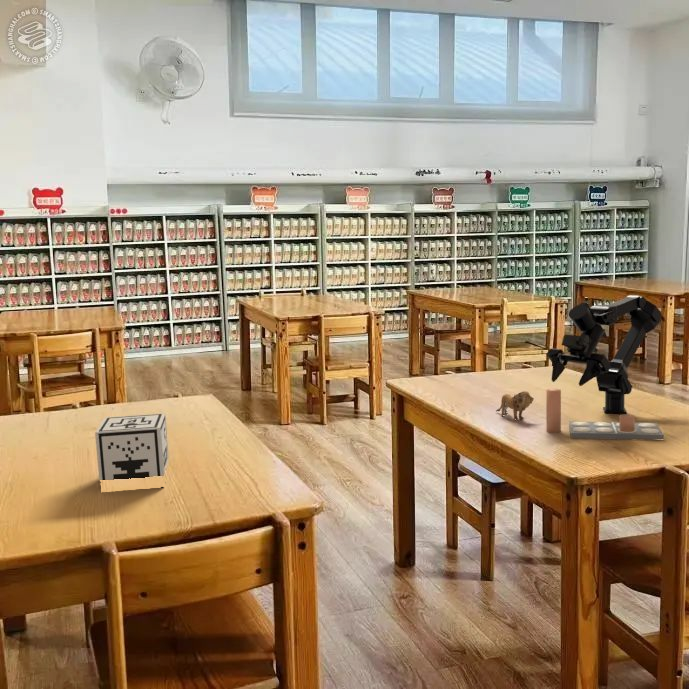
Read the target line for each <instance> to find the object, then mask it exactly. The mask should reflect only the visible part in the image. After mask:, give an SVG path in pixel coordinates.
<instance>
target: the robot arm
mask: <svg viewBox="0 0 689 689" xmlns="http://www.w3.org/2000/svg"><path fill="white" fill-rule="evenodd" d="M626 314H627V315H629V320H630V325H631V326H630V328H629V329H628V332H627V333H626V336H624V339H623V340H622V342H621V344H620V346H619V347H618V349H617V351H616V353H615V355H614V356H613V358H612V360H609V359H608V358H607V356H606V354H605V353H597V352H598V348H597V346H598V344H599V343H600V341H601V339H606V338H607V333H606V329H604V327H603V326H608V327H610V326H612V325H613V324H615V323H616V322H617V321H618V318H619V317H622V316H623V315H626ZM662 316H663V315H662V312H661V311H660V309H659V308H658V306H657V305H656V304H654V303H652V302H650V301H648V300H647V299H646V297H644V296H642V295H636V294H635V295H634V294H629V295H627V296H626V297H624V298H621V299H619V300H617V301H613V302H612V303H608V304H596V305H592V306H591V307H590V305H589V303H588V302H587V301H586V302H585V301H581V302H580V303H579V304H577V305H576V306H573V307H572V308H571V309H570V310H569V311H568V317H569V319H570V320H571V322H572V323H573V325H574V326H575V328H576V329H577V330H578V331H579V332H580V334H579V335H575V334H564V335H563V338H562V342H561V345H562V346H564V347H566V348H567V349H566V351H567V352H568V353H570V354H566V353H565V352H564V351H563V349H561V348H560V349H559V348H553V347H552V348H549V349H548V351H547V352H546V357H548V359H549V360H550V362H551V363H552V372H551V381H552V382H553V383H554V382H556V381H557V380H558V378H559V377H560V376H561V375H562V373H563V372H564V371H565V369H566V366H567V364H568V362H569V363H570V362H571V363H577V364H583V365H586V366H585V369H584V371H583V373H582V375H581V377H580V379H579V381H578V386H579V387H582V386H584V385H585V384H586V383H588V382H590V381H591V380H592V379H595V378H596V384H597V388H598V391H599V392H604V393H605V395H604V406H603V407H602V409H603V412H604V413H605V414H628V413H627V412H628V411H627V410H626V408H625V396H626V395H630V393H631V394H632V389H633V384H631V382H630V380H629V379H628V378H629V372H628V367H629V365H630V364H631V361H632V359H634V357H635V354H636V352H637V351H638V350H639V347H640V345H641V343H642V342H643V340H644V338H645V336H646V335H647V334H648V333H649V332H651V331H653V330H655V328H656V327H658V325H659V323H660V322H661V320H662Z"/></svg>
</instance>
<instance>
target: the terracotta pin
mask: <svg viewBox="0 0 689 689" xmlns="http://www.w3.org/2000/svg"><path fill="white" fill-rule="evenodd" d="M545 391H546V392H545V393H546V396H545V397H546V398H545V399H546V402H545V403H546V412H545V414H546V415H545V416H546V419H545V420H546V428H545V429H546V432H548V433H552V434H553V433H555V434H556V433H561V432H562V390H561V389H560V388H554V387H553V388H547V389H546V390H545Z"/></svg>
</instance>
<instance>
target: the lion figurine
mask: <svg viewBox="0 0 689 689" xmlns="http://www.w3.org/2000/svg"><path fill="white" fill-rule="evenodd" d="M534 400H535V399H534V397H532V396H531V394H530V392H529V391H524V390H523V391H520V392H519V393H517V394H514V396H511V395H510V394H508V393H505V394H503V395H502V396H501V404H500V407H499V408H498V409H496V410H495V412H497V411H498V412H500V411H501V416H502V415H505V416H506V413H504V412H508V410H507V409H511V410H512V411H513V412H512V413H513V420H514V419H516V420H517V421H519V419H520V418H523V419H524V418H525V417H524V416H522V415H523V411H525V410H526V409H527V408H529V406H530V405H533V402H534ZM516 420H515V421H516Z"/></svg>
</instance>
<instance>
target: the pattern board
mask: <svg viewBox="0 0 689 689" xmlns="http://www.w3.org/2000/svg"><path fill="white" fill-rule="evenodd" d="M618 419H619V421H616V422H615V421H584V420H583V421H579V420H578V421H576V420H575V421H574V420H573V421H572V420H570V421H568V428H569V433H570V438H571V439H589V440H590V439H594V440H628V439H664V438H665V435H664V433H663V431H662V429H661V428H660V426H659V425H658V423H657V422H636V421H635V420H636V416H635V415H634V414H628V413H621V414H620V415H619V418H618Z"/></svg>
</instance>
